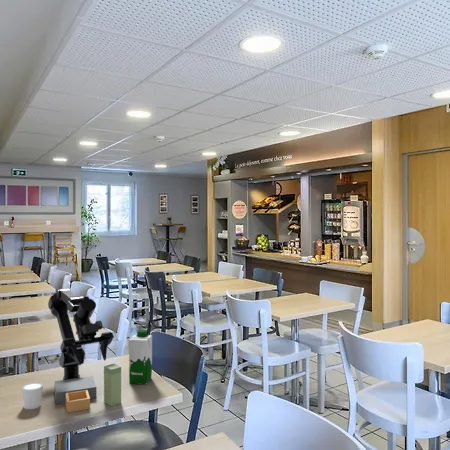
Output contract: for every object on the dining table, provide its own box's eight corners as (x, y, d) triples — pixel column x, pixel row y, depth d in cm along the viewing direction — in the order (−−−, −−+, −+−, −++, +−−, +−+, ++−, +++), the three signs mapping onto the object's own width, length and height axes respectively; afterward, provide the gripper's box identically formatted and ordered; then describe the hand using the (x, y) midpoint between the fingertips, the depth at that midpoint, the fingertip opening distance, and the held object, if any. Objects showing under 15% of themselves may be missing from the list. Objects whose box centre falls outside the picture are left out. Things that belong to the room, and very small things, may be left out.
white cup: (46, 401, 155) (46, 382, 155) (38, 410, 148) (38, 389, 148) (26, 401, 154) (26, 382, 154) (18, 410, 147) (18, 390, 147)
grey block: (54, 391, 163) (54, 381, 163) (92, 386, 169) (92, 376, 169) (56, 414, 145) (56, 402, 145) (99, 406, 150) (99, 395, 150)
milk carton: (154, 377, 179) (154, 329, 179) (147, 385, 170) (147, 335, 170) (133, 376, 180) (134, 329, 180) (126, 384, 171) (126, 334, 171)
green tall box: (104, 402, 154) (104, 366, 154) (113, 398, 157) (113, 363, 157) (111, 406, 151) (111, 369, 151) (121, 402, 154) (121, 366, 154)
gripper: (63, 317, 154) (72, 356, 146) (112, 311, 165) (123, 347, 157) (56, 333, 161) (65, 371, 152) (104, 326, 172) (114, 361, 164)
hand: (93, 362), depth 156 cm, fingers open, 9 cm apart
